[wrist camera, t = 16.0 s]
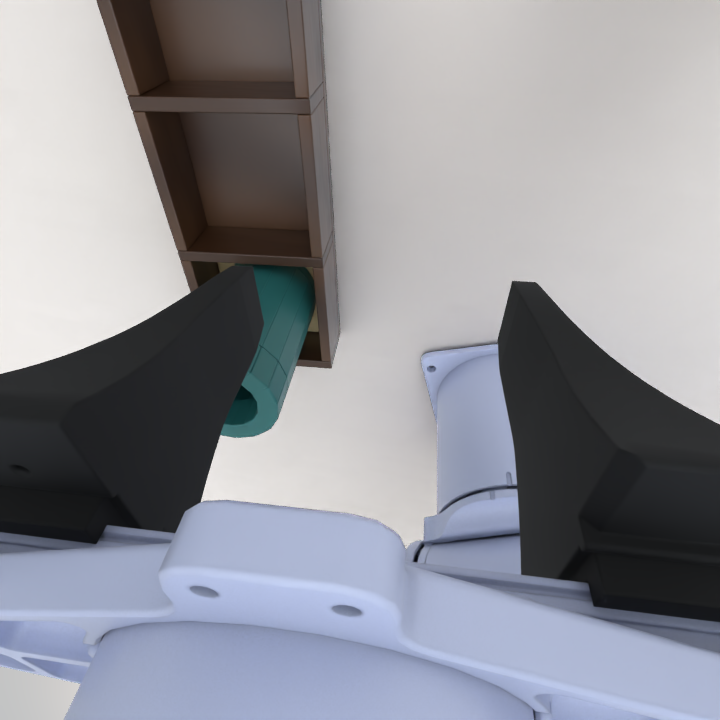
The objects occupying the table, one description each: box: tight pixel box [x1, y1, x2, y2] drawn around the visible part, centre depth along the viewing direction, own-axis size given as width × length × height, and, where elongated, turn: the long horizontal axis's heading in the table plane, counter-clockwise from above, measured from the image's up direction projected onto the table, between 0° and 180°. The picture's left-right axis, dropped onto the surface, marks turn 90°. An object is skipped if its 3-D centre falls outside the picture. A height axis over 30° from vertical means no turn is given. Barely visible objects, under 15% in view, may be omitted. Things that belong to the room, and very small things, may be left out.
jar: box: [220, 263, 316, 438], centre depth 21 cm, size 5×5×8 cm
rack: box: [97, 0, 340, 368], centre depth 19 cm, size 19×7×3 cm, turn 1°
